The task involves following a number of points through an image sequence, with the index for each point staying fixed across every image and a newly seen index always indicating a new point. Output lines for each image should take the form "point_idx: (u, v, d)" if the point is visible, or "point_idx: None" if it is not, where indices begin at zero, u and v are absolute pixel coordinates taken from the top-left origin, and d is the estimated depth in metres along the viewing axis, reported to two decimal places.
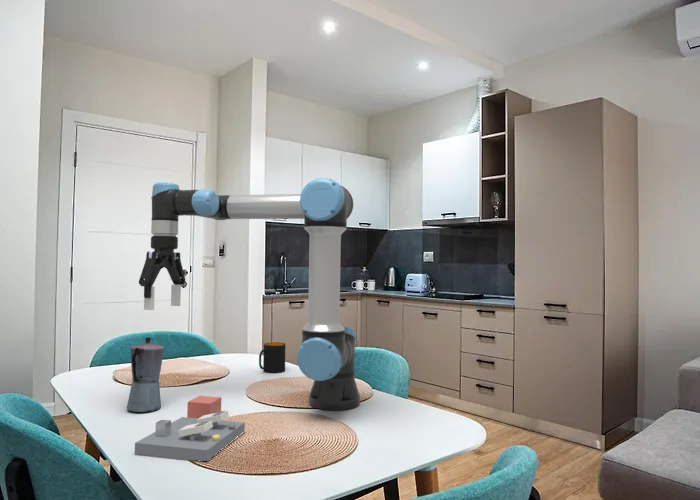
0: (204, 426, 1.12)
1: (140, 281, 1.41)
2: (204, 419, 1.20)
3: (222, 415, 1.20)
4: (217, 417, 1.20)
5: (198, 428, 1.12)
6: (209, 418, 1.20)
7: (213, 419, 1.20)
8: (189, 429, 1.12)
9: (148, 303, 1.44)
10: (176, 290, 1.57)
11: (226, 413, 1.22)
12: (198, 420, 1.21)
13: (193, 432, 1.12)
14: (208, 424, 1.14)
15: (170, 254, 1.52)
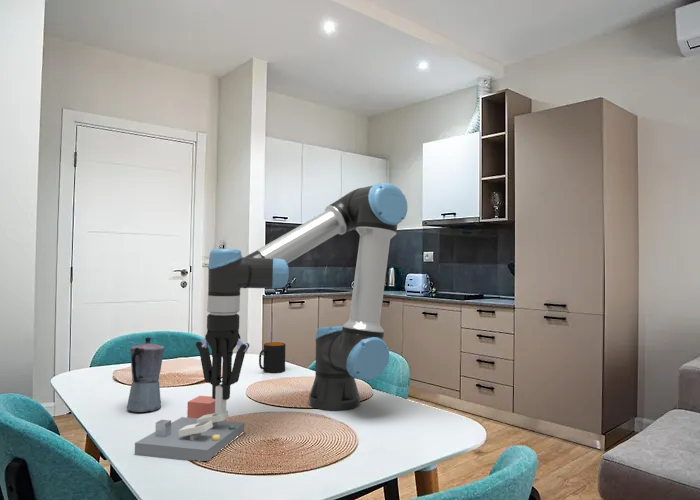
0: (204, 426, 1.12)
1: None
2: (204, 419, 1.20)
3: (222, 415, 1.20)
4: (217, 417, 1.20)
5: (198, 428, 1.12)
6: (209, 418, 1.20)
7: (213, 419, 1.20)
8: (189, 429, 1.12)
9: None
10: None
11: (226, 413, 1.22)
12: (198, 420, 1.21)
13: (193, 432, 1.12)
14: (208, 424, 1.14)
15: (228, 339, 1.20)
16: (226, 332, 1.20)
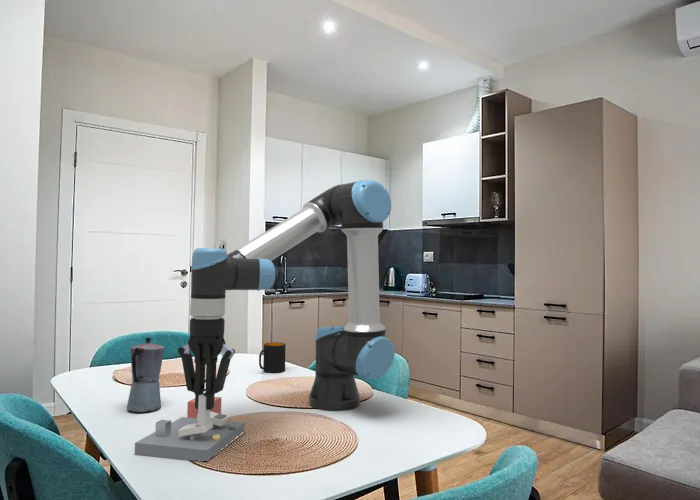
0: (204, 427, 1.12)
1: None
2: None
3: (223, 421, 1.20)
4: (218, 421, 1.20)
5: (199, 429, 1.12)
6: (210, 418, 1.20)
7: (213, 421, 1.20)
8: (189, 429, 1.12)
9: None
10: None
11: (226, 418, 1.22)
12: None
13: (193, 432, 1.12)
14: (208, 424, 1.14)
15: (212, 344, 1.12)
16: (210, 337, 1.13)
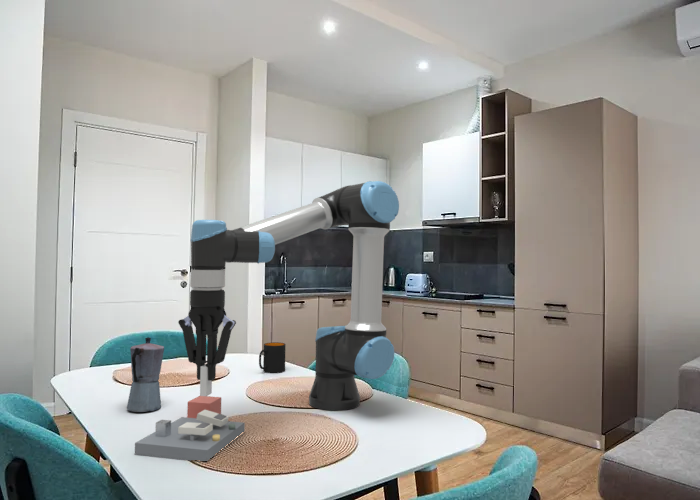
0: (205, 429, 1.12)
1: None
2: (205, 417, 1.20)
3: (223, 421, 1.20)
4: (217, 421, 1.20)
5: (199, 430, 1.12)
6: (210, 418, 1.20)
7: (213, 421, 1.20)
8: (189, 429, 1.12)
9: None
10: None
11: (226, 419, 1.22)
12: (199, 415, 1.21)
13: (193, 432, 1.12)
14: (209, 427, 1.14)
15: (213, 315, 1.13)
16: (211, 308, 1.13)
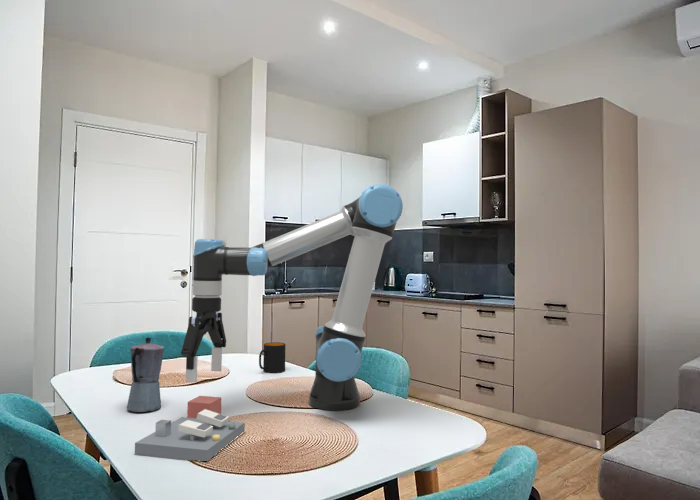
0: (205, 432, 1.12)
1: (183, 351, 1.27)
2: (205, 417, 1.20)
3: (223, 422, 1.20)
4: (217, 422, 1.20)
5: (199, 432, 1.12)
6: (210, 418, 1.20)
7: (213, 421, 1.20)
8: (190, 428, 1.12)
9: (190, 375, 1.30)
10: (217, 353, 1.43)
11: (226, 420, 1.22)
12: (199, 414, 1.21)
13: (192, 433, 1.12)
14: (209, 430, 1.14)
15: (212, 316, 1.38)
16: (211, 317, 1.38)
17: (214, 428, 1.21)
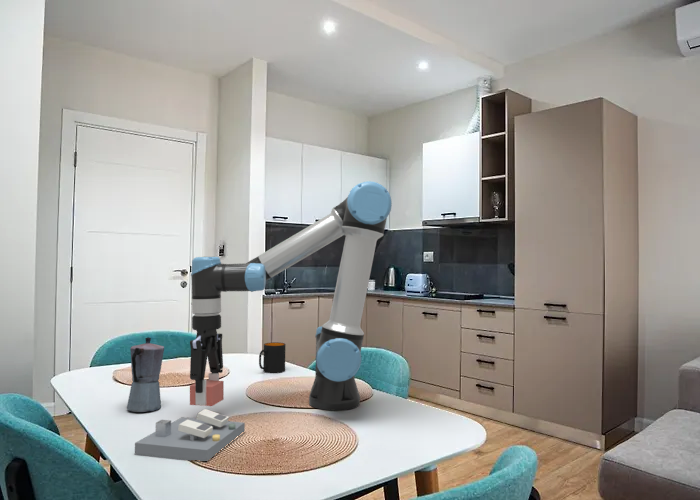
0: (205, 432, 1.12)
1: (191, 377, 1.30)
2: (205, 417, 1.20)
3: (223, 422, 1.20)
4: (217, 422, 1.20)
5: (199, 432, 1.12)
6: (210, 418, 1.20)
7: (213, 421, 1.20)
8: (190, 428, 1.12)
9: (200, 398, 1.33)
10: (214, 379, 1.40)
11: (226, 420, 1.22)
12: (199, 414, 1.21)
13: (192, 433, 1.12)
14: (209, 430, 1.14)
15: (214, 334, 1.38)
16: (212, 332, 1.38)
17: (214, 428, 1.21)
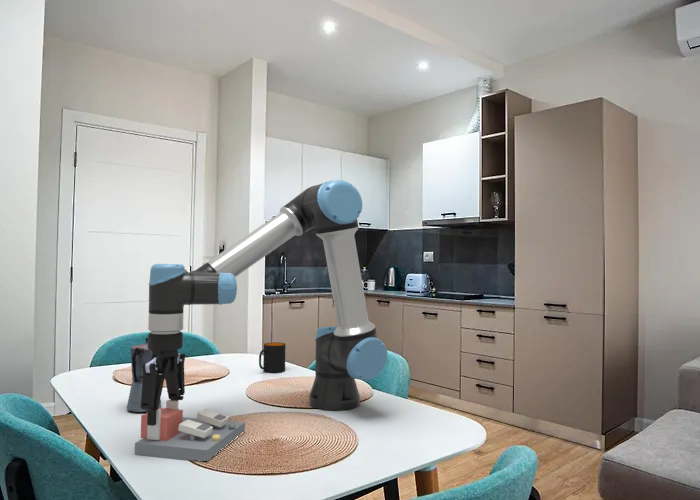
0: (205, 432, 1.12)
1: (142, 407, 1.09)
2: (205, 417, 1.20)
3: (223, 422, 1.20)
4: (217, 422, 1.20)
5: (199, 432, 1.12)
6: (210, 418, 1.20)
7: (213, 421, 1.20)
8: (190, 428, 1.12)
9: (152, 431, 1.12)
10: (172, 408, 1.19)
11: (226, 420, 1.22)
12: (199, 414, 1.21)
13: (192, 433, 1.12)
14: (209, 430, 1.14)
15: (173, 355, 1.18)
16: (172, 352, 1.17)
17: (214, 428, 1.21)
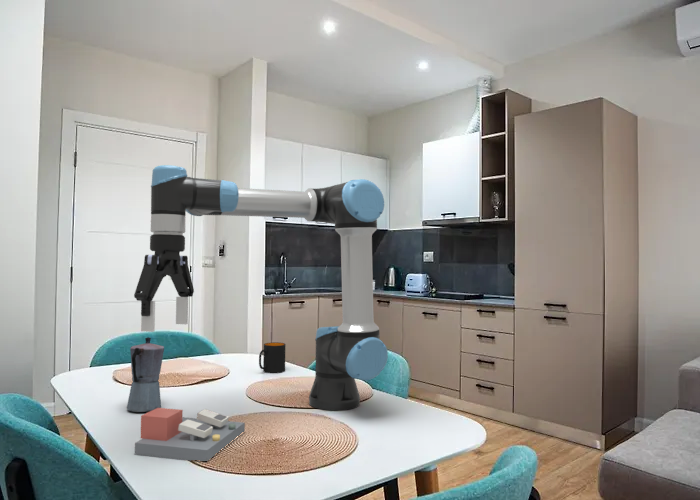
0: (205, 433, 1.12)
1: (136, 294, 1.07)
2: (205, 417, 1.20)
3: (223, 422, 1.20)
4: (217, 422, 1.20)
5: (199, 432, 1.12)
6: (210, 418, 1.20)
7: (213, 421, 1.20)
8: (190, 428, 1.12)
9: (147, 323, 1.09)
10: (182, 303, 1.23)
11: (226, 420, 1.22)
12: (199, 414, 1.21)
13: (192, 433, 1.12)
14: (209, 430, 1.14)
15: (175, 258, 1.18)
16: (173, 259, 1.17)
17: (214, 428, 1.21)
